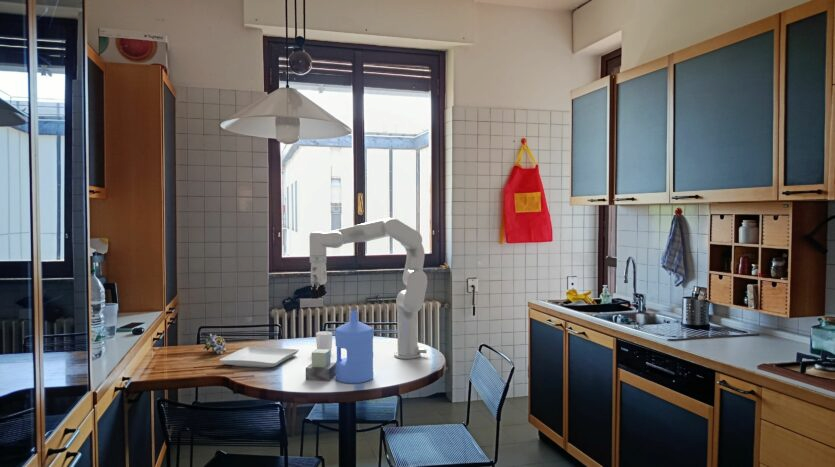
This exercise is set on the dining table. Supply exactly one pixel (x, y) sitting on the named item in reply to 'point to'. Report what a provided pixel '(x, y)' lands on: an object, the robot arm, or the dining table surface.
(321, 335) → the white cup
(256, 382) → the dining table surface
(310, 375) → the block
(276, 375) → the dining table surface
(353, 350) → the water jug
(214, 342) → the passion flower
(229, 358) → the square plate
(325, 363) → the sage cube
